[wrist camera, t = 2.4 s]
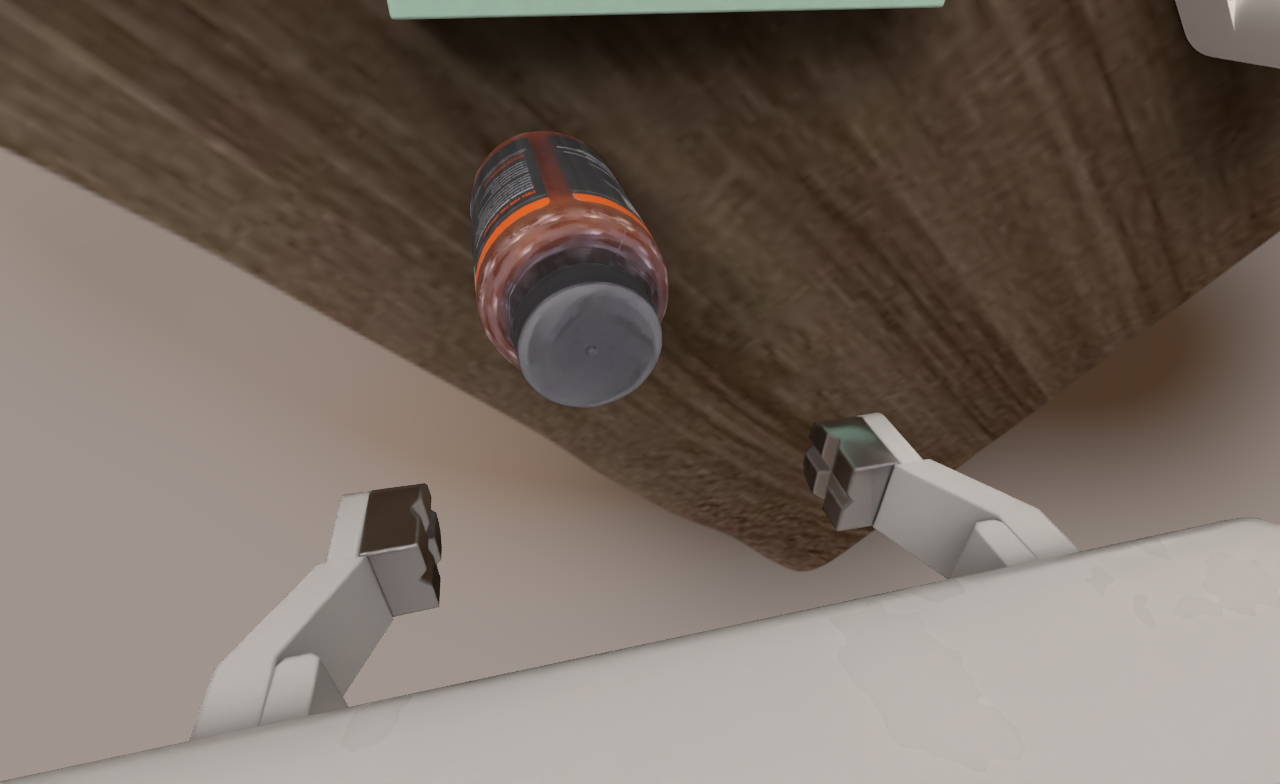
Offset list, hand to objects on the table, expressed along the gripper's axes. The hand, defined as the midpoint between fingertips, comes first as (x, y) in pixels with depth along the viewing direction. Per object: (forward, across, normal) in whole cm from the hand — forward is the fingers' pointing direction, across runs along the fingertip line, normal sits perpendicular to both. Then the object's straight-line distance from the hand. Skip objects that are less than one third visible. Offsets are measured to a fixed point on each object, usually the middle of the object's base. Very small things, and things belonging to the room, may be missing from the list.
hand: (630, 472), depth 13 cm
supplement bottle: (+16, 0, 0) cm, 16 cm away
